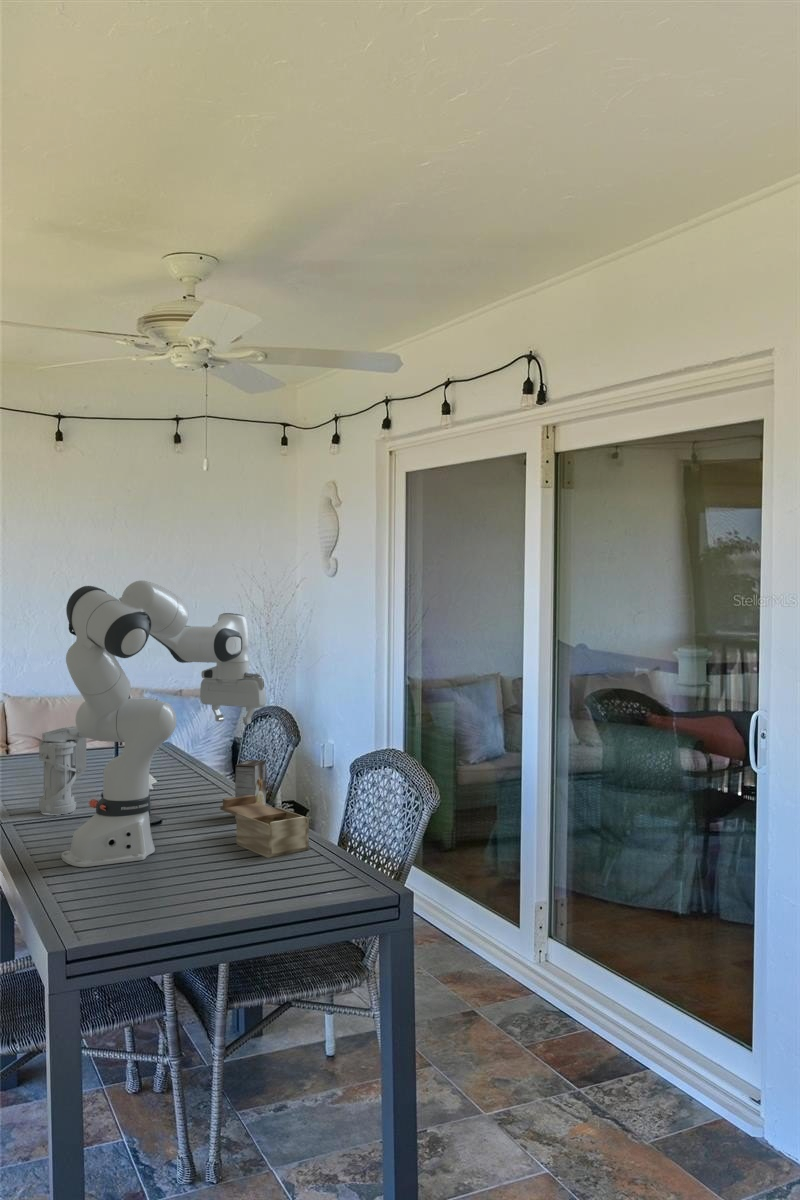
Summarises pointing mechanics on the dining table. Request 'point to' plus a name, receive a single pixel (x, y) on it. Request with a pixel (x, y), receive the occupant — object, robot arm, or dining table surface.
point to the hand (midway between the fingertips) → (233, 722)
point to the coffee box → (251, 780)
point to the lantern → (61, 768)
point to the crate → (274, 834)
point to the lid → (249, 808)
